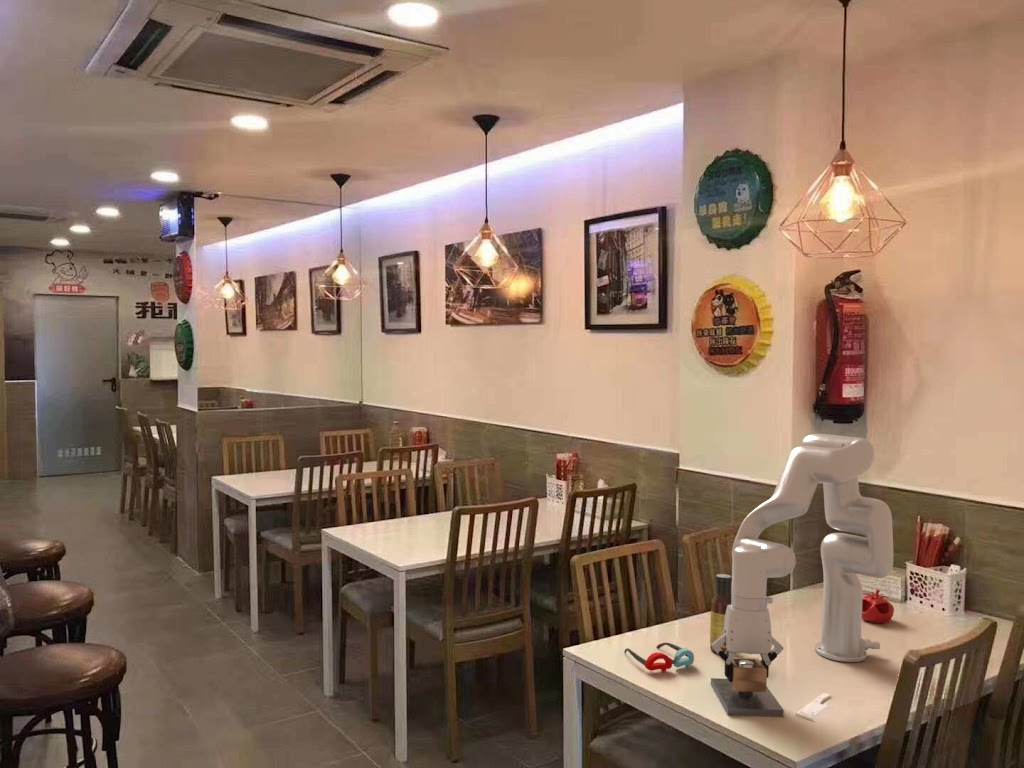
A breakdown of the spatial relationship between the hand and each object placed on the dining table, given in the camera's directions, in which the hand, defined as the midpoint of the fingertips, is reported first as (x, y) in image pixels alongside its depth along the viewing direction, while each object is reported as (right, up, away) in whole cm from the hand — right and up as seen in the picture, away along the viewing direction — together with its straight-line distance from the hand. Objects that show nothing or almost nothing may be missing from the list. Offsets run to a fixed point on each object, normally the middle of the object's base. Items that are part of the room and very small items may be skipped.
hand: (746, 679), depth 182 cm
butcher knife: (+16, -6, -3) cm, 17 cm away
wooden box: (0, -1, 0) cm, 1 cm away
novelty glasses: (-16, -4, +22) cm, 28 cm away
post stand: (0, -5, 0) cm, 5 cm away
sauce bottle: (+2, -4, +30) cm, 30 cm away
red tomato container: (+55, -4, +57) cm, 79 cm away
